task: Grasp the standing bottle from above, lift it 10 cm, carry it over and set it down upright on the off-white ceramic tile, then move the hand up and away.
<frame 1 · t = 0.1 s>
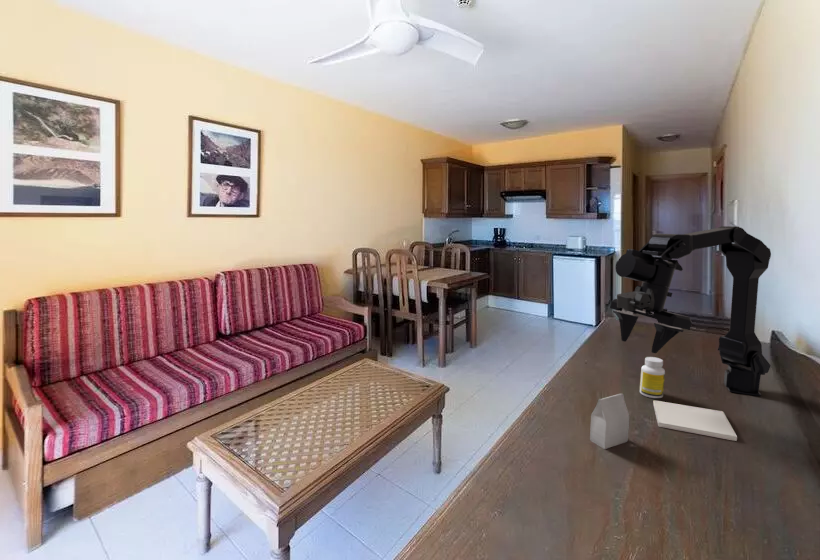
hand: (637, 346, 96), 15 cm above the table, tool pointing down, fingers open, 9 cm apart
supplement bottle: (651, 395, 104), on the table
milk carton: (608, 441, 83), on the table
ceramic tile: (691, 420, 91), on the table
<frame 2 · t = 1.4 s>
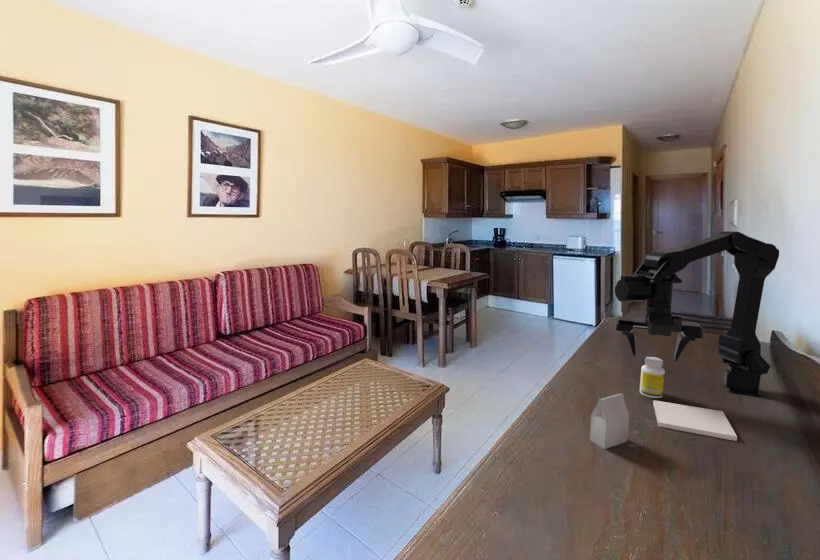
hand: (654, 358, 103), 10 cm above the table, tool pointing down, fingers open, 9 cm apart
nothing on the table moved.
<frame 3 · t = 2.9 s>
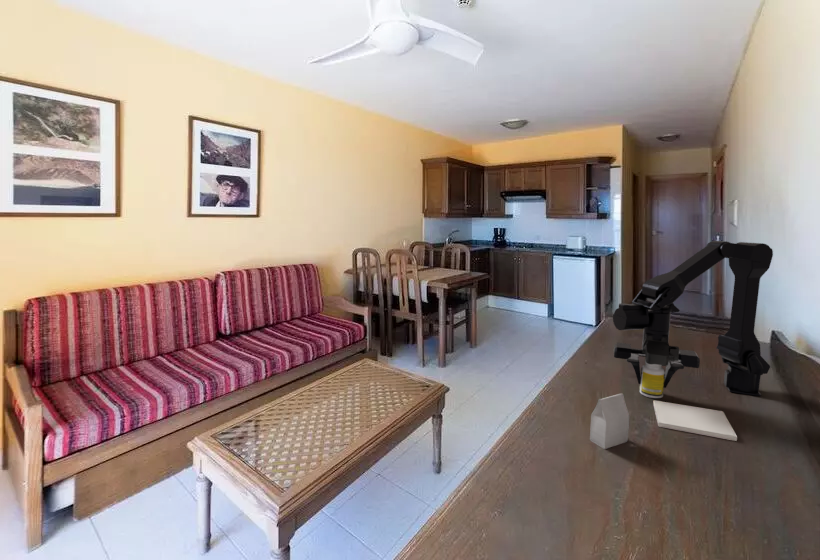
hand: (651, 385, 104), 3 cm above the table, tool pointing down, fingers closed on supplement bottle, 5 cm apart
supplement bottle: (651, 395, 104), on the table, touching gripper
everything else where it was.
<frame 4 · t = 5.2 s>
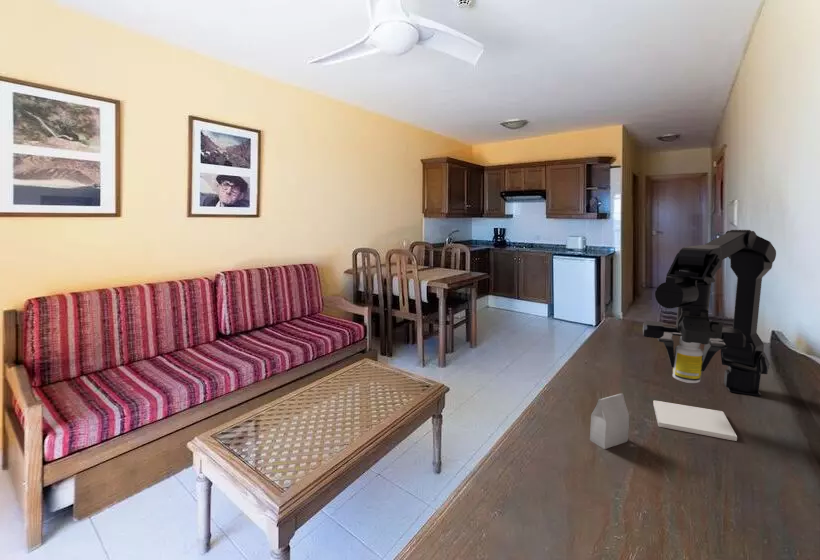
hand: (687, 368, 91), 12 cm above the table, tool pointing down, fingers closed on supplement bottle, 5 cm apart
supplement bottle: (686, 379, 91), point 9 cm above the table, touching gripper
everything else where it was.
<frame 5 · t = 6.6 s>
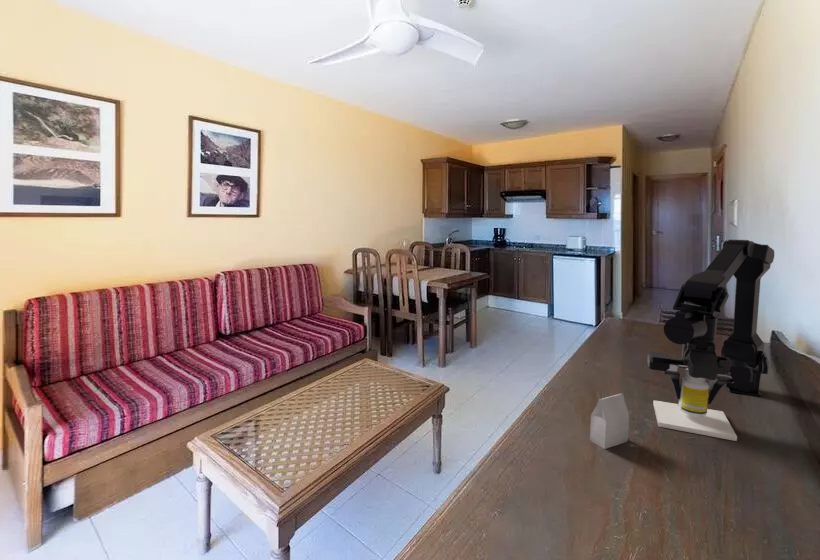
hand: (693, 401, 90), 5 cm above the table, tool pointing down, fingers closed on supplement bottle, 5 cm apart
supplement bottle: (692, 412, 90), point 2 cm above the table, touching gripper
everything else where it was.
when the fingers open (4 cm above the table, at t = 7.5 s): supplement bottle stays where it is, resting on ceramic tile.
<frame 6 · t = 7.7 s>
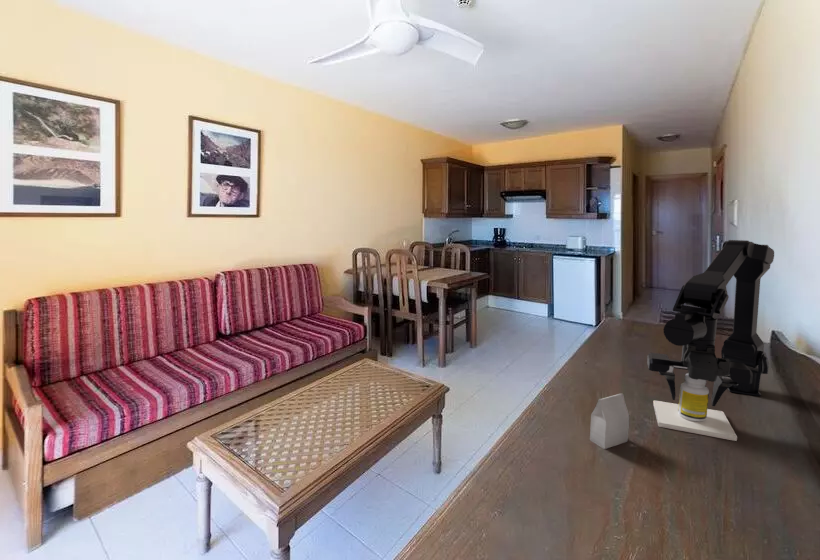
hand: (692, 402, 90), 4 cm above the table, tool pointing down, fingers open, 7 cm apart
supplement bottle: (691, 417, 90), point 1 cm above the table, touching ceramic tile
everything else where it was.
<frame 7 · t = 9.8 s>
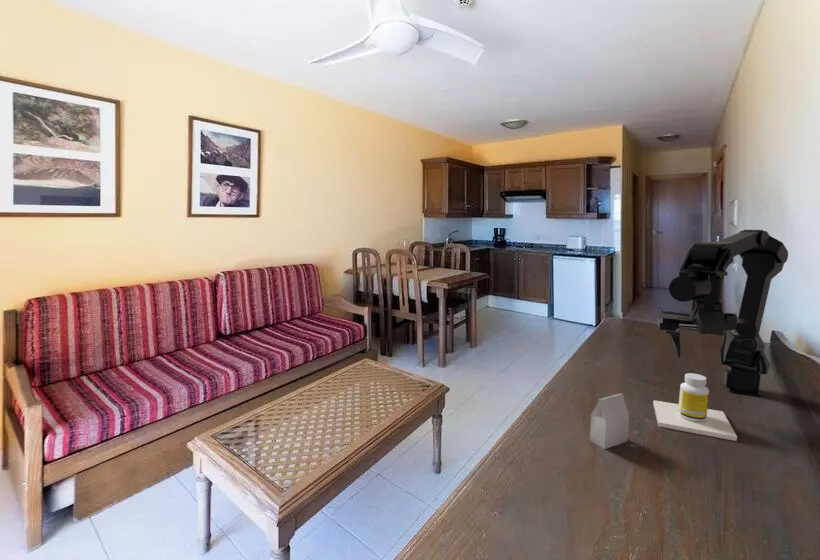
hand: (701, 359, 95), 13 cm above the table, tool pointing down, fingers open, 9 cm apart
nothing on the table moved.
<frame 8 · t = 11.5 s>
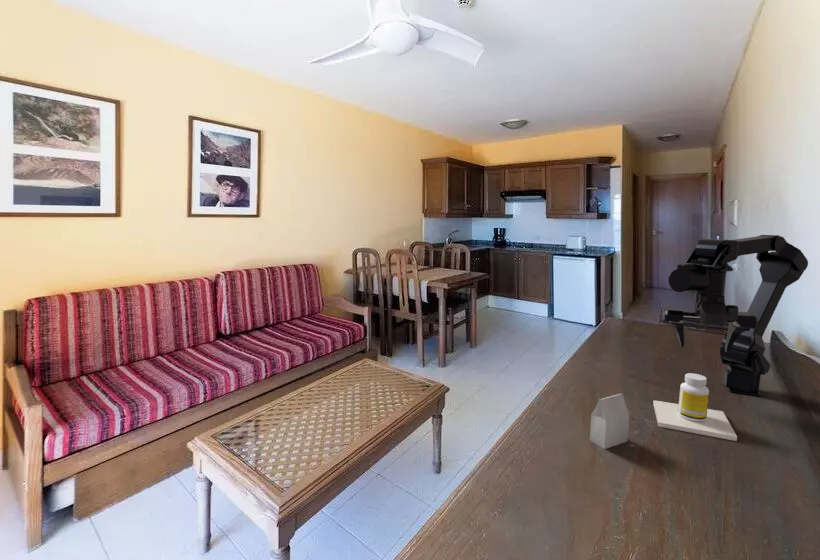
hand: (704, 349, 100), 13 cm above the table, tool pointing down, fingers open, 9 cm apart
nothing on the table moved.
at the end: supplement bottle inside the target area on the ceramic tile (0.1 cm from its centre), point 0.8 cm above the ceramic tile's base; supplement bottle tilted 0°; the gripper is holding nothing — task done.
